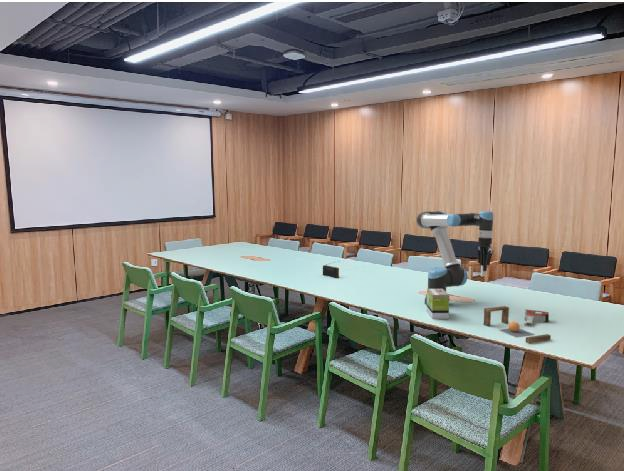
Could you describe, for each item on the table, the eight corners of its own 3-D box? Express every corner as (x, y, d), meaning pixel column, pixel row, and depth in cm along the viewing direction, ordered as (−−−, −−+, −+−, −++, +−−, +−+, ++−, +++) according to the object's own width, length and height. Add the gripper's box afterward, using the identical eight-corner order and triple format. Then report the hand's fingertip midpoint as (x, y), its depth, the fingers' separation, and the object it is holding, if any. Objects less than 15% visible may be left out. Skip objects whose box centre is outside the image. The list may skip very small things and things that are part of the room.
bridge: (483, 324, 248) (484, 308, 246) (504, 321, 252) (505, 305, 251) (487, 326, 245) (488, 309, 244) (508, 323, 250) (509, 307, 248)
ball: (513, 333, 232) (505, 330, 237) (521, 332, 234) (514, 329, 239) (513, 323, 232) (506, 320, 237) (522, 322, 233) (514, 319, 239)
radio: (322, 275, 380) (322, 258, 378) (324, 275, 382) (325, 257, 380) (338, 278, 366) (338, 260, 364) (340, 278, 368) (340, 260, 366)
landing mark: (499, 330, 238) (499, 329, 238) (516, 327, 242) (516, 327, 242) (516, 337, 227) (516, 337, 227) (534, 334, 231) (534, 334, 231)
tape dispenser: (527, 330, 243) (559, 326, 247) (527, 321, 242) (559, 316, 246) (507, 319, 260) (537, 315, 264) (507, 310, 259) (537, 306, 263)
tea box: (425, 311, 273) (426, 288, 271) (442, 311, 272) (443, 288, 270) (431, 319, 258) (432, 294, 256) (449, 319, 257) (450, 294, 256)
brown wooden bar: (525, 342, 220) (525, 337, 220) (547, 338, 225) (547, 334, 224) (528, 343, 218) (528, 338, 218) (550, 340, 223) (550, 335, 223)
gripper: (472, 236, 269) (470, 274, 273) (487, 238, 257) (485, 278, 260) (483, 235, 272) (481, 273, 275) (498, 238, 259) (495, 278, 262)
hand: (483, 276), depth 267 cm, fingers closed
